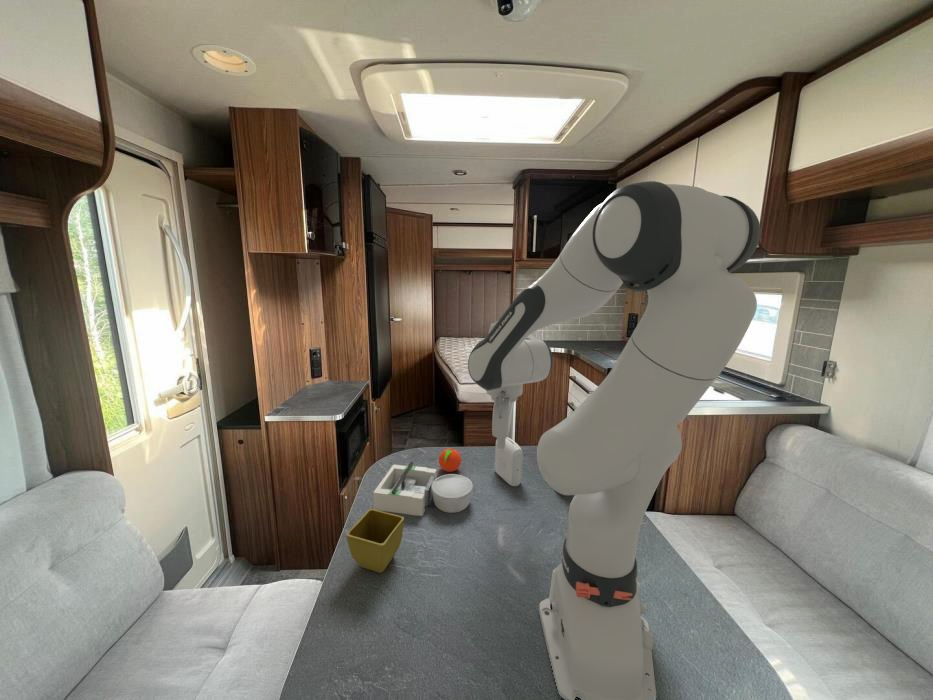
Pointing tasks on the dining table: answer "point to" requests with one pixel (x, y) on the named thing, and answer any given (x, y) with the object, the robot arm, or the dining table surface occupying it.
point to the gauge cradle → (402, 499)
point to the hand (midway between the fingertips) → (502, 438)
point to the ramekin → (452, 492)
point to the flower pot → (375, 539)
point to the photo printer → (509, 462)
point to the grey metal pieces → (414, 486)
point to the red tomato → (450, 460)
